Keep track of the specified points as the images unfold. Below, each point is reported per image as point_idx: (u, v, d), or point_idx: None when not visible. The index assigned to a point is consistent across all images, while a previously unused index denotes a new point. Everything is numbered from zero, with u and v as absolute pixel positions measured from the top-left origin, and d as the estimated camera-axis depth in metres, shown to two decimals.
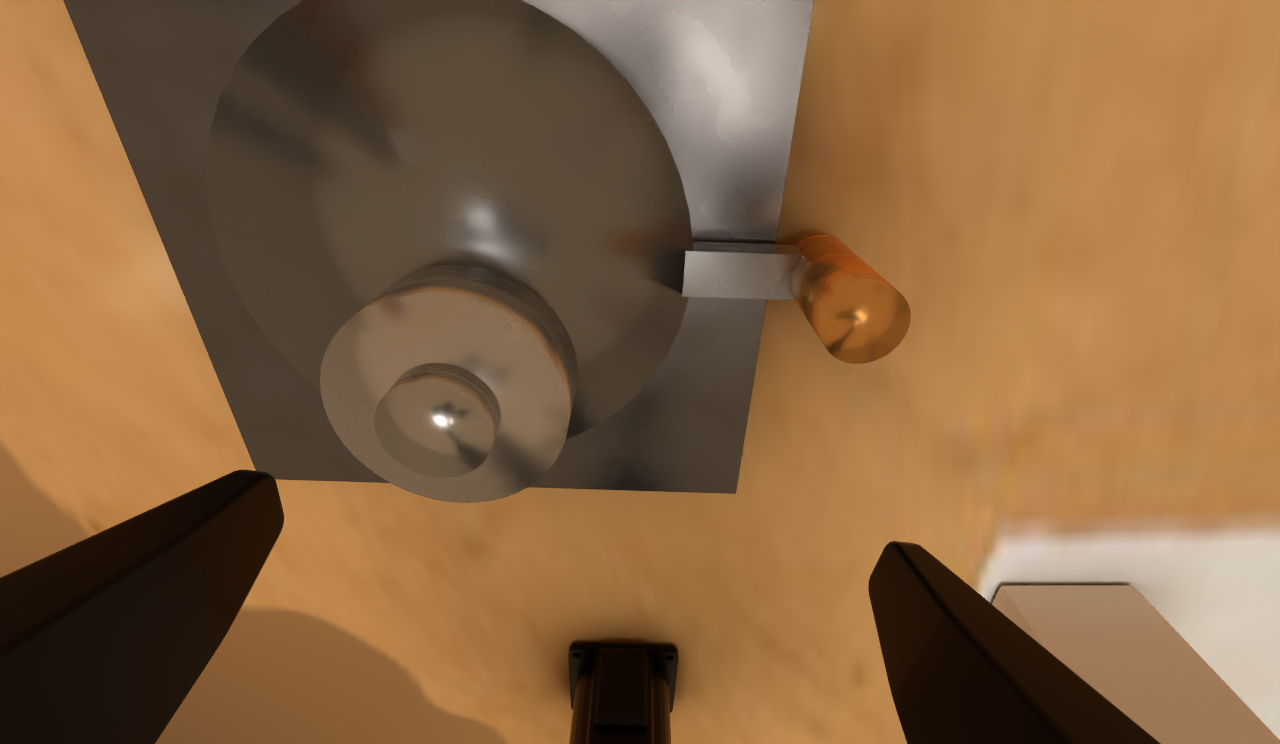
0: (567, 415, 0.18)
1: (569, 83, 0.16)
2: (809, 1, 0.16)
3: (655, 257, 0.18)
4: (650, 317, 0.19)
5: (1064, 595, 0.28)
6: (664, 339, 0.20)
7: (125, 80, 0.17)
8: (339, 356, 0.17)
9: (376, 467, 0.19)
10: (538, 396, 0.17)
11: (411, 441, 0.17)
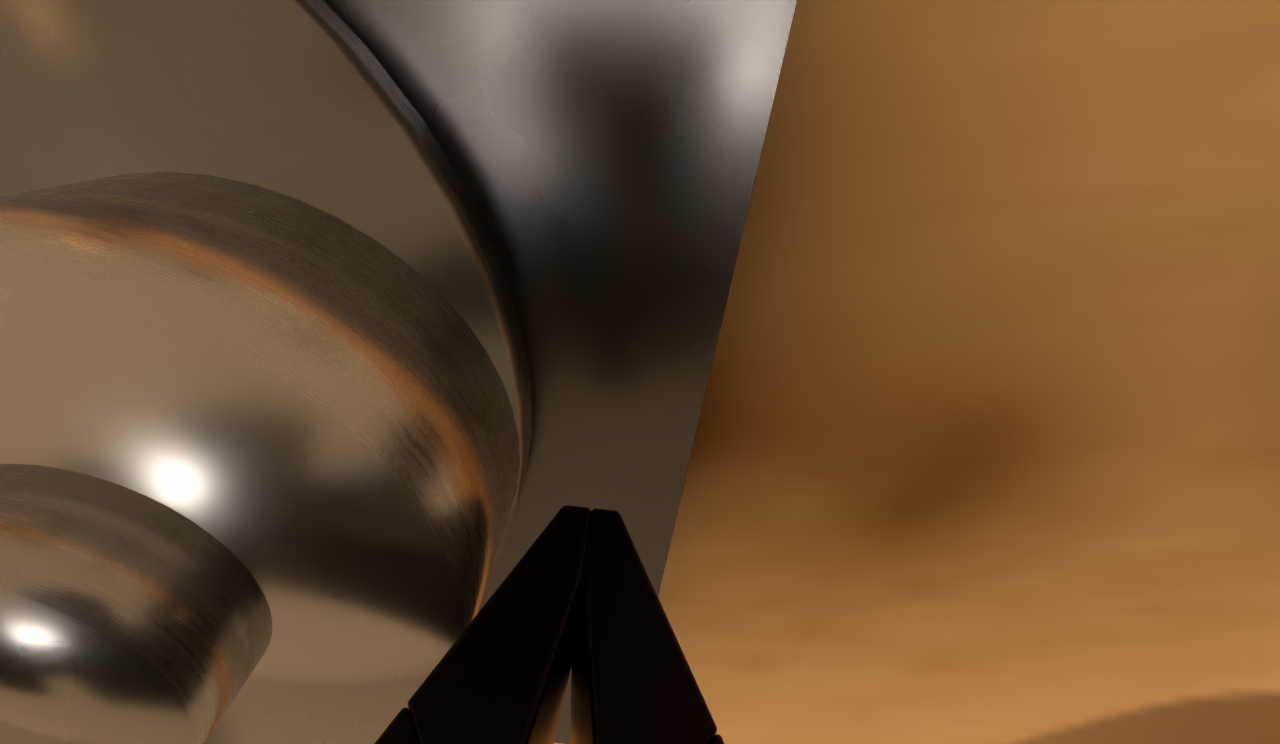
0: None
1: None
2: None
3: None
4: None
5: None
6: None
7: None
8: None
9: None
10: None
11: None
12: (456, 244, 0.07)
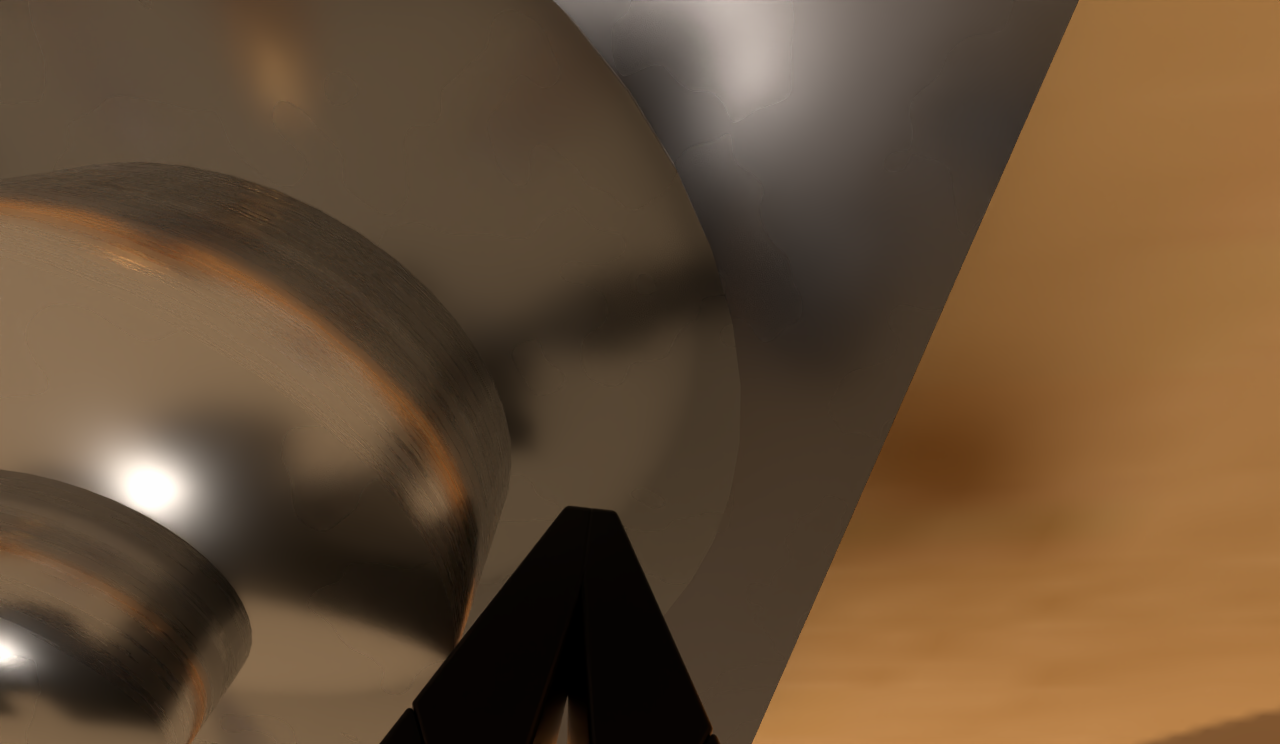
0: None
1: None
2: None
3: None
4: None
5: None
6: None
7: None
8: None
9: None
10: None
11: None
12: (714, 284, 0.07)
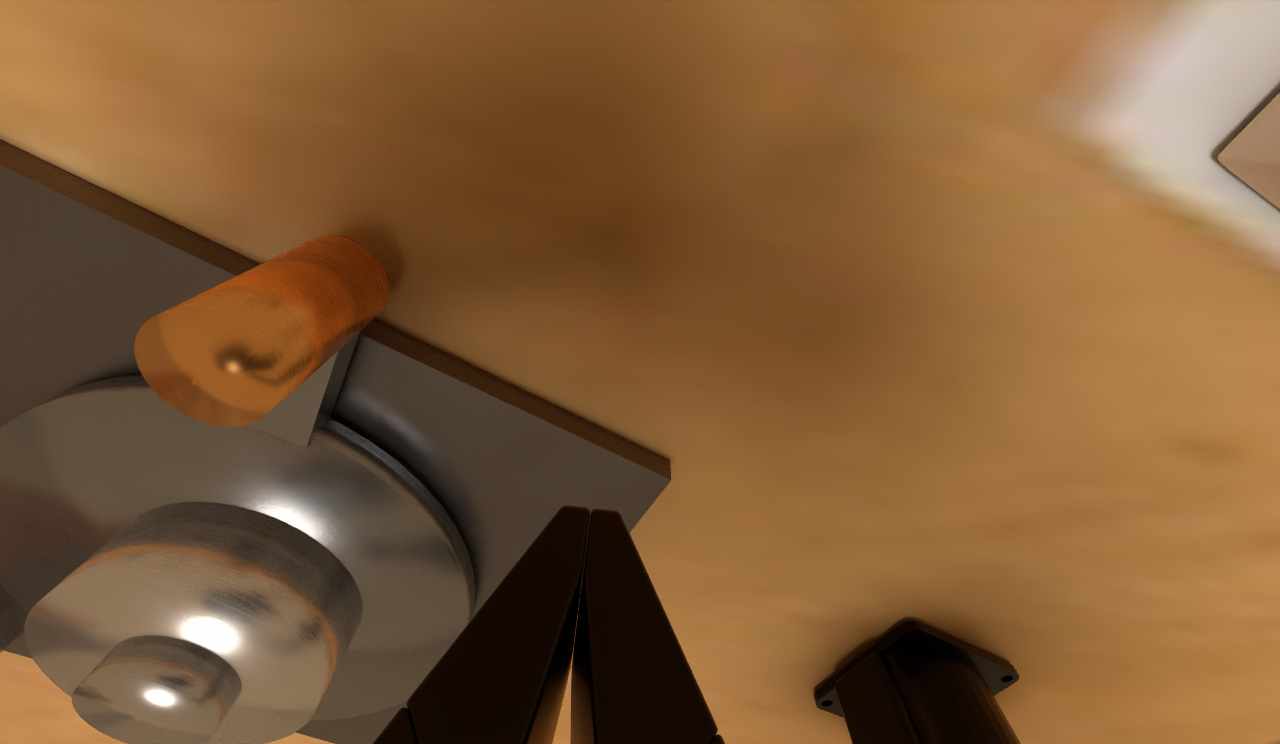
0: (203, 596, 0.14)
1: (58, 444, 0.16)
2: (20, 178, 0.13)
3: (256, 449, 0.16)
4: (332, 481, 0.16)
5: None
6: (365, 479, 0.16)
7: None
8: None
9: (244, 741, 0.18)
10: (167, 607, 0.14)
11: (156, 733, 0.15)
12: (463, 599, 0.19)
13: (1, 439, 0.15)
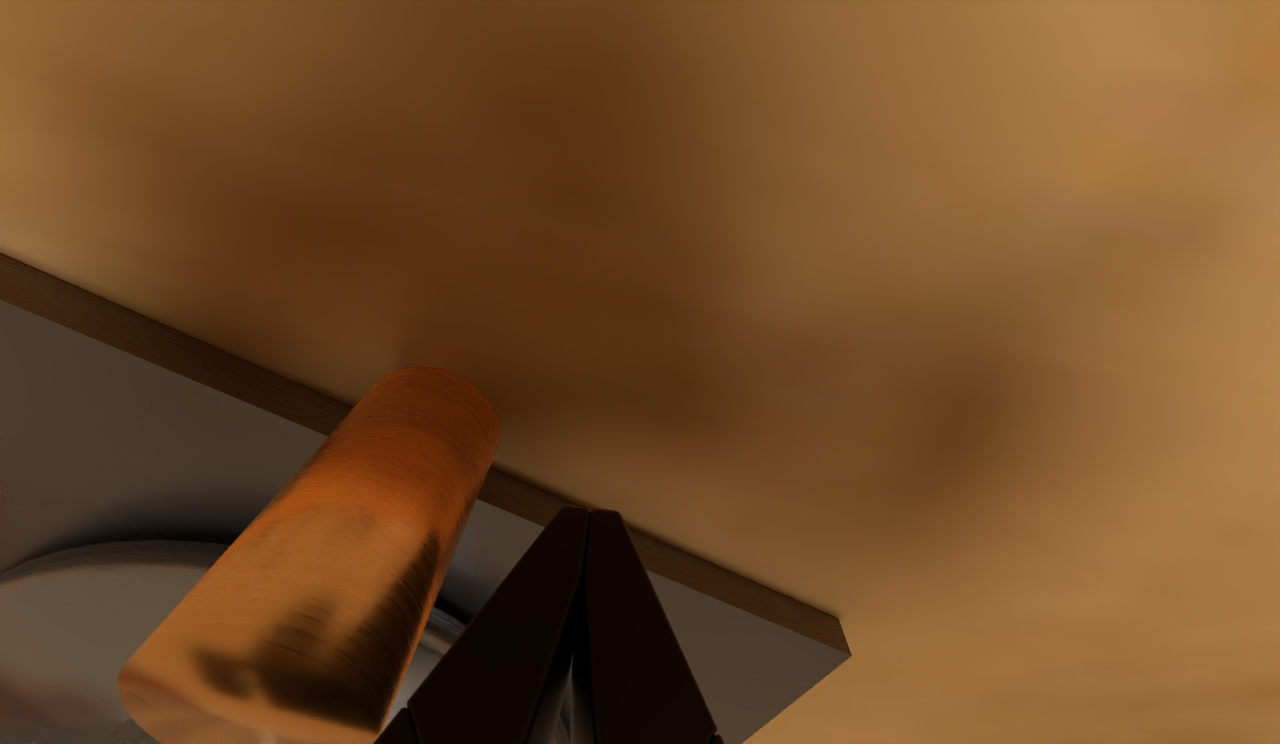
0: None
1: (23, 638, 0.11)
2: None
3: None
4: (403, 680, 0.12)
5: None
6: None
7: None
8: None
9: None
10: None
11: None
12: None
13: None
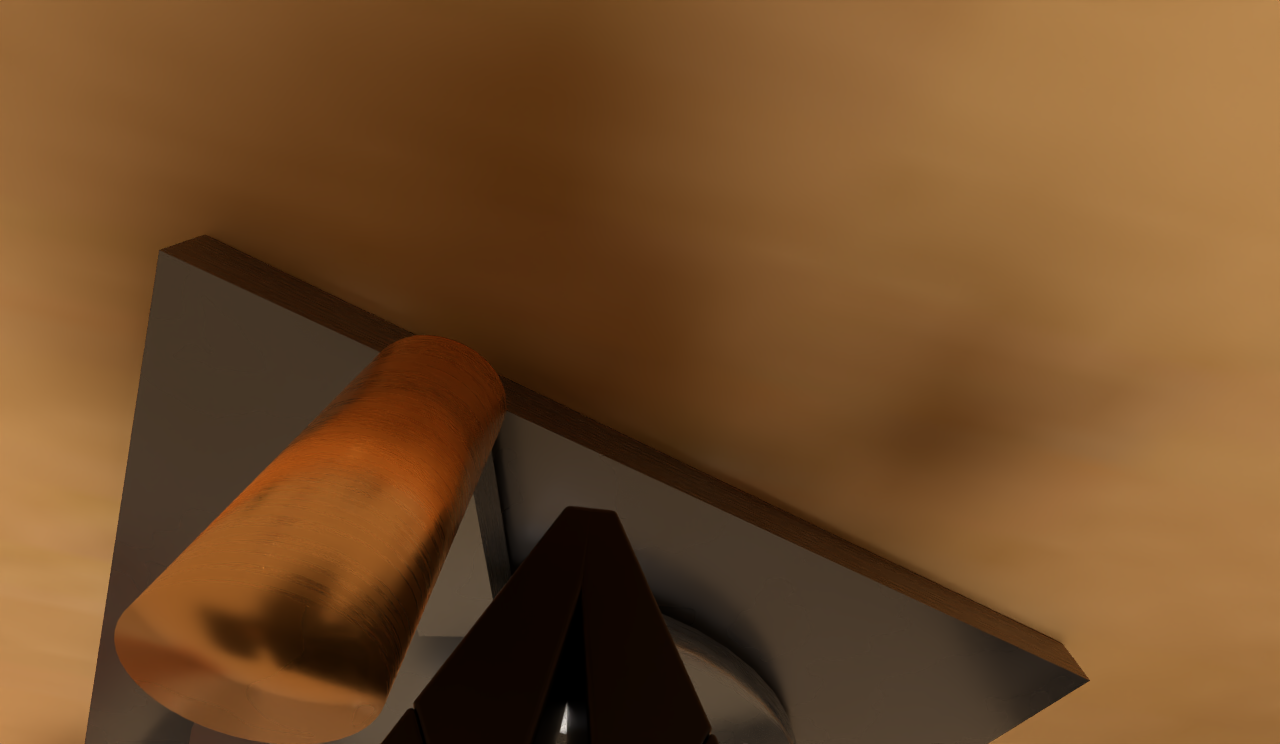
0: None
1: None
2: (353, 345, 0.09)
3: (445, 657, 0.11)
4: None
5: None
6: None
7: None
8: None
9: None
10: None
11: None
12: (784, 743, 0.13)
13: (199, 742, 0.13)
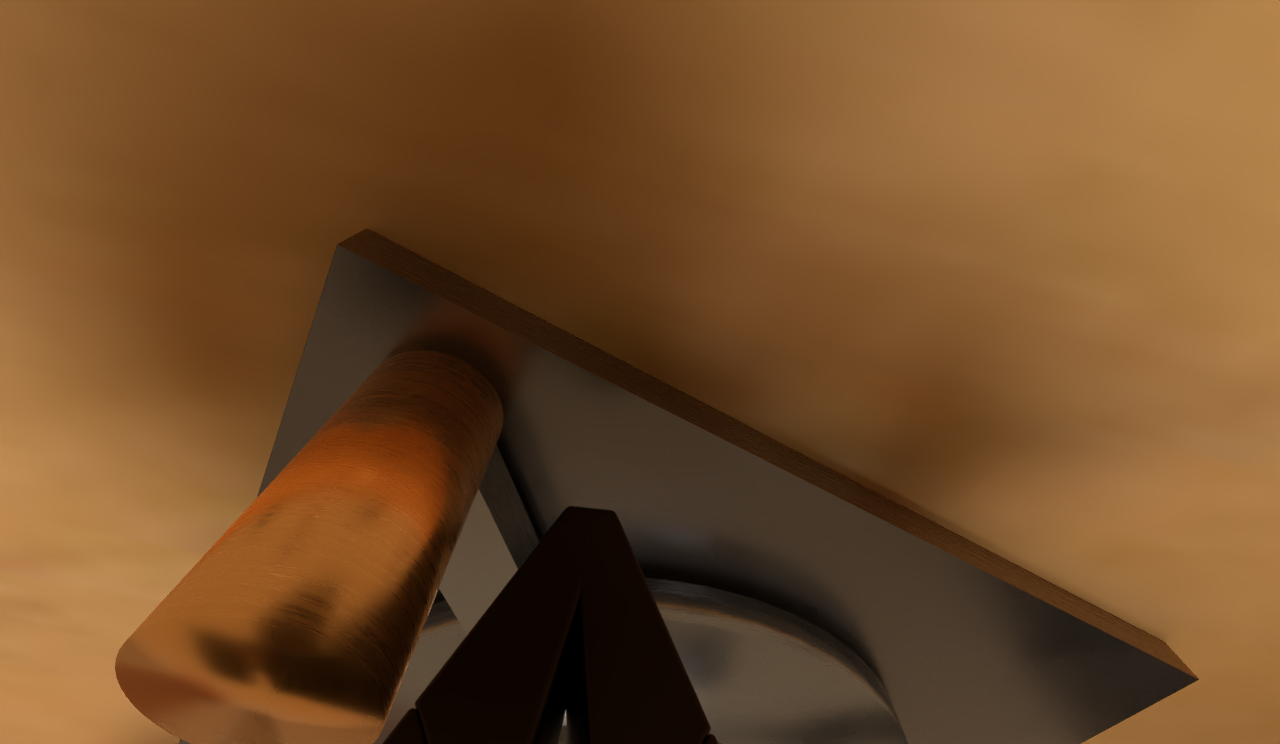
0: None
1: None
2: (519, 343, 0.09)
3: None
4: None
5: None
6: None
7: None
8: None
9: None
10: None
11: None
12: (873, 703, 0.12)
13: None
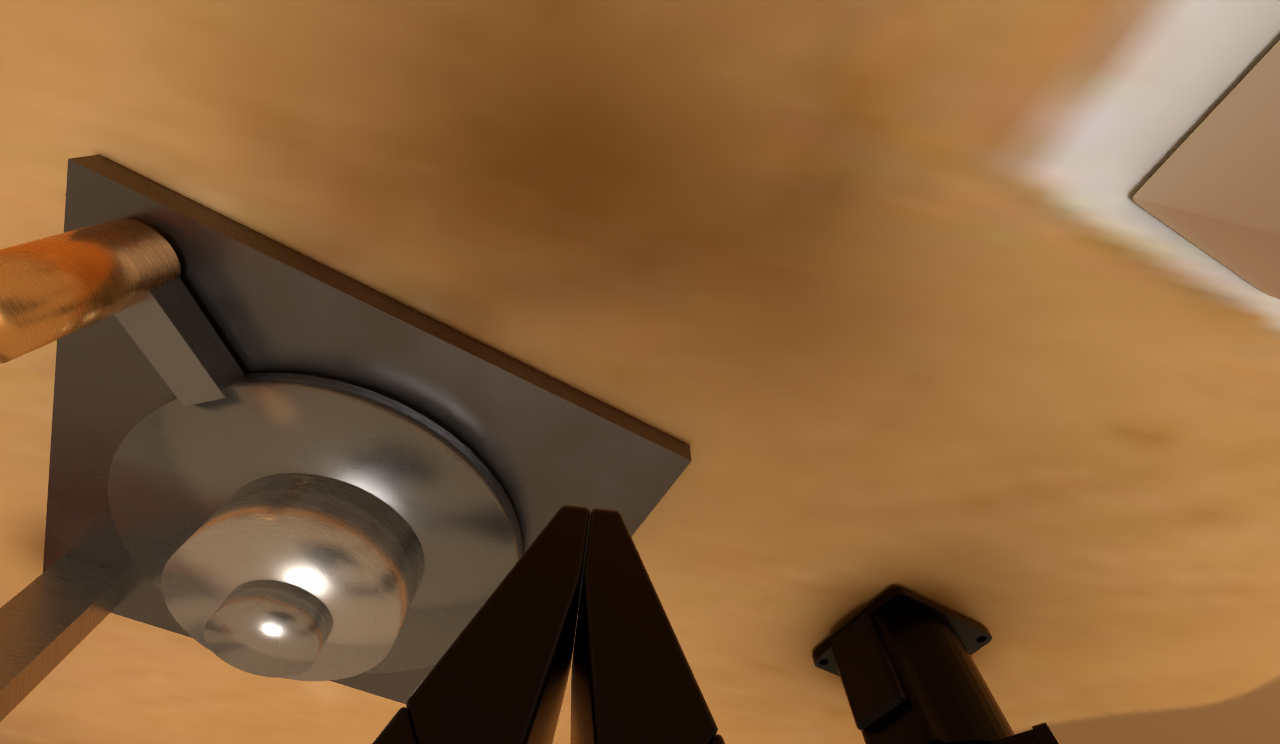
0: (219, 533, 0.17)
1: (141, 505, 0.21)
2: (180, 216, 0.17)
3: (212, 425, 0.19)
4: (270, 415, 0.19)
5: (1235, 107, 0.15)
6: (283, 396, 0.18)
7: None
8: None
9: (379, 653, 0.20)
10: (214, 557, 0.18)
11: (282, 657, 0.18)
12: (447, 456, 0.19)
13: (119, 523, 0.21)
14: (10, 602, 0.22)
